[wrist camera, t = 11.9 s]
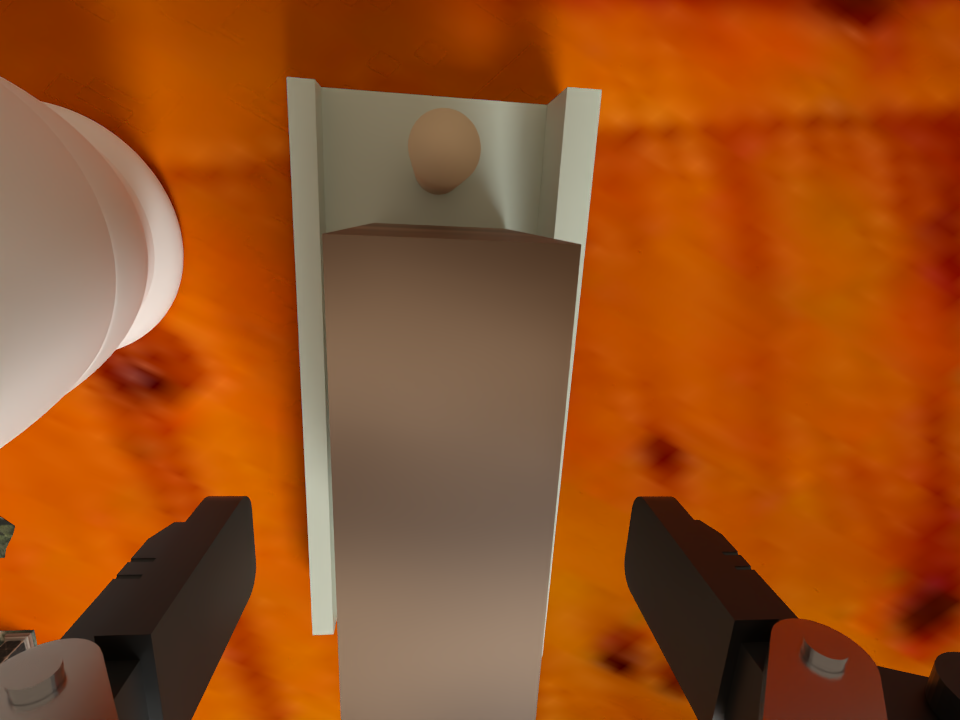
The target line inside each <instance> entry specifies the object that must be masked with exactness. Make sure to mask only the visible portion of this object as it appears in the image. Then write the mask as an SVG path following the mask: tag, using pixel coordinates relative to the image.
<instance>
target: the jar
mask: <svg viewBox="0 0 960 720" xmlns="http://www.w3.org/2000/svg"><path fill="white" fill-rule="evenodd" d="M183 259H184V253H183V242H182V235H181V230H180V226H179V222H178V219H177V216H176V213H175V211H174V208H173V206H172V203H171V201H170V199H169V197H168V195H167V193H166V192H165V190H164V188H163V186H162V185H161V183H160V182H159V180H158V179H157V177H156V176H155V174H154V173H153V172H152V170H151V169H150V168H149V167H148V165H147V164H146V163H145V162H144V161H143V160H142V158H141V157H140V156H139V155H138V154H137V153H136V152H135V151H134V150H133V149H132V148H130V147H129V146H128V145H127V144H126V143H125V142H124V141H122V140H121V139H120V138H119V137H117V136H116V135H115V134H113V133H112V132H111V131H109V130H108V129H106V128H105V127H103V126H101V125H100V124H98V123H96V122H95V121H93V120H91V119H89V118H87V117H85V116H83V115H81V114H79V113H76V112H74V111H72V110H69V109H66V108H64V107H61V106H57V105H54V104H50V103H46V102H41V101H39V100H38V99H36V98H35V97H33V96H32V95H30V94H29V93H27V92H26V91H24V90H23V89H21V88H19V87H18V86H16V85H14V84H13V83H11V82H9V81H8V80H6V79H4V78H2V77H1V76H0V448H1V447H3V446H4V445H5V444H7V443H8V442H10V441H11V440H12V439H14V438H15V437H16V436H18V435H19V434H20V433H22V432H23V431H24V430H25V429H27V428H28V427H29V426H31V425H32V424H33V423H34V422H35V421H37V420H38V419H39V418H40V417H41V416H42V415H44V414H45V413H46V412H47V411H48V410H49V409H50V408H51V407H53V406H54V405H55V404H56V403H57V402H58V401H59V400H60V399H61V398H62V397H63V396H64V395H65V394H67V393H68V392H70V391H71V390H72V389H74V388H75V387H76V386H78V385H79V384H80V383H82V382H83V381H84V380H85V379H87V378H88V377H89V376H90V375H91V374H92V373H93V372H95V371H96V370H97V369H98V368H99V367H100V366H101V365H102V364H103V363H104V362H105V361H106V360H107V359H108V358H109V357H110V356H111V355H112V353H113V352H114V351H115V350H116V349H119V348H121V347H124V346H126V345H129V344H131V343H133V342H134V341H136V340H138V339H139V338H141V337H142V336H144V335H145V334H147V333H148V332H149V331H150V330H152V329H153V328H154V327H155V326H156V325H157V324H158V323H159V322H160V321H161V319H162V318H163V317H164V316H165V314H166V313H167V312H168V310H169V308H170V307H171V305H172V303H173V301H174V299H175V297H176V294H177V292H178V289H179V286H180V282H181V278H182V272H183Z"/></svg>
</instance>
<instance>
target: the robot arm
mask: <svg viewBox="0 0 960 720" xmlns="http://www.w3.org/2000/svg"><path fill="white" fill-rule="evenodd" d="M255 573H256V558H255V545H254V532H253V518H252V507H251V502H250V499H249V498H248V497H247V496H208V497H206V498H205V499H204V500H203V501H202V502H201V503H200V504H199V506H198V507H197V508H196V509H195V511H194V512H193V513H192V514H191V516H190V517H189V518H188V519H187V521H186V522H174V523H173V524H171V525H169V526H168V527H166V528H165V529H163V530H162V531H160V532H158V533H157V534H155V535H154V536H152V537H151V538H149V539H148V540H147V541H146V542H145V543H144V545H143V546H142V547H141V548H140V549H139V550H138V551H137V552H136V554H135V555H134V556H133V557H132V558H131V562H128V563H127V564H126V565H125V566H124V567H123V568H122V570H121V571H120V572H119V573H118V574H117V578H116V579H113V580H112V581H111V582H110V583H109V584H108V586H107V587H106V588H105V589H104V590H103V591H102V592H101V594H100V595H99V596H98V597H97V598H96V599H95V600H94V601H93V603H92V604H91V605H90V606H89V607H88V608H87V609H86V611H85V612H84V613H83V614H82V615H81V616H80V617H79V619H78V620H77V621H76V622H75V623H74V624H73V625H72V627H71V628H70V629H69V630H68V631H67V632H66V633H65V635H64V636H63V637H62V638H61V639H60V640H55V641H51V642H47V643H44V644H41V645H38V646H35V647H32V648H30V649H28V650H26V651H23V652H21V653H19V654H17V655H15V656H13V657H11V658H10V659H8V660H6V661H5V662H3V663H2V664H0V720H191V719H192V717H193V715H194V713H195V711H196V709H197V707H198V704H199V702H200V700H201V698H202V696H203V694H204V692H205V690H206V688H207V686H208V683H209V681H210V679H211V677H212V675H213V673H214V671H215V669H216V667H217V665H218V663H219V660H220V658H221V656H222V654H223V652H224V650H225V648H226V646H227V644H228V642H229V640H230V637H231V635H232V633H233V631H234V629H235V627H236V625H237V623H238V621H239V619H240V616H241V614H242V612H243V610H244V608H245V606H246V604H247V602H248V600H249V598H250V595H251V592H252V589H253V585H254V580H255ZM625 575H626V580H627V584H628V587H629V589H630V592H631V594H632V595H633V597H634V599H635V601H636V603H637V605H638V607H639V609H640V611H641V612H642V614H643V616H644V618H645V620H646V622H647V624H648V626H649V628H650V629H651V631H652V633H653V635H654V637H655V639H656V641H657V643H658V645H659V646H660V648H661V650H662V652H663V654H664V656H665V658H666V660H667V662H668V663H669V665H670V667H671V669H672V671H673V673H674V675H675V677H676V679H677V680H678V682H679V684H680V686H681V688H682V690H683V692H684V694H685V696H686V698H687V699H688V701H689V703H690V705H691V707H692V709H693V711H694V713H695V715H696V716H697V718H698V720H960V652H946V653H943V654H941V655H939V656H938V657H937V658H936V660H935V662H934V665H933V668H932V671H931V674H930V676H929V677H924V676H920V675H915V674H911V673H907V672H902V671H898V670H893V669H889V668H884V667H880V666H876V664H875V662H874V661H873V660H872V658H871V657H870V656H869V655H868V654H867V653H866V652H865V651H864V650H863V649H862V648H861V647H860V646H859V645H858V644H856V643H855V642H854V641H852V640H851V639H850V638H848V637H846V636H845V635H843V634H842V633H840V632H838V631H836V630H834V629H832V628H830V627H828V626H825V625H823V624H820V623H817V622H814V621H810V620H805V619H798V617H797V616H796V615H795V614H794V613H793V612H792V611H791V610H790V609H789V608H788V606H787V605H786V604H785V603H784V602H783V601H782V600H781V599H780V598H779V597H778V596H777V594H776V593H775V592H774V591H773V590H772V589H771V588H770V587H769V586H768V585H767V583H766V582H765V581H764V580H763V579H762V578H761V577H760V576H759V575H758V574H757V572H756V571H755V570H751V566H750V565H749V564H748V563H747V561H746V560H745V559H744V558H743V557H742V556H741V555H738V553H737V551H736V549H735V548H734V547H733V546H732V545H731V544H730V543H729V542H728V541H727V540H726V538H725V537H724V536H723V535H722V534H720V533H719V532H717V531H716V530H714V529H713V528H711V527H709V526H708V525H706V524H705V523H703V522H702V521H700V520H694V519H693V518H692V517H691V516H690V515H689V514H688V512H687V511H686V510H685V509H684V508H683V507H682V506H681V504H680V503H679V502H678V501H677V500H676V499H675V498H674V497H637V498H636V499H635V501H634V503H633V507H632V513H631V520H630V526H629V533H628V540H627V547H626V553H625Z"/></svg>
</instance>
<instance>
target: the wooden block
mask: <svg viewBox="0 0 960 720" xmlns="http://www.w3.org/2000/svg"><path fill="white" fill-rule="evenodd" d="M322 245H323V271H324V296H325V322H326V347H327V373H328V399H329V424H330V450H331V475H332V501H333V526H334V552H335V578H336V603H337V629H338V654H339V680H340V706H341V720H536V709H537V699H538V689H539V678H540V668H541V658H542V647H543V637H544V627H545V616H546V606H547V596H548V585H549V575H550V564H551V554H552V544H553V533H554V523H555V513H556V502H557V492H558V482H559V471H560V461H561V451H562V440H563V430H564V420H565V409H566V399H567V389H568V378H569V368H570V358H571V347H572V337H573V327H574V316H575V306H576V296H577V285H578V275H579V265H580V254H581V244H577V243H572V242H568V241H563V240H558V239H553V238H548V237H544V236H539V235H534V234H529V233H524V232H520V231H515V230H510V229H504V228H481V227H458V226H435V225H412V224H389V223H371V224H366V225H361V226H357V227H352V228H347V229H342V230H338V231H333V232H328V233H324V234H322Z"/></svg>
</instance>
